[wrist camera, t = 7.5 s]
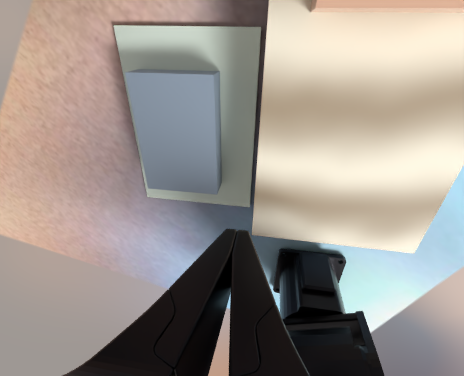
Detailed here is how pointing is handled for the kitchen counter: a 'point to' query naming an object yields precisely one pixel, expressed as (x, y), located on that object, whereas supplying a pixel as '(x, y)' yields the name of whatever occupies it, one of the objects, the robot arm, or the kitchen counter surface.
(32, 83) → the kitchen counter surface
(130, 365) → the robot arm
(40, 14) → the kitchen counter surface
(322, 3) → the terracotta tile
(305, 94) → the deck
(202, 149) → the grey-blue rectangular block
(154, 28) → the mat
